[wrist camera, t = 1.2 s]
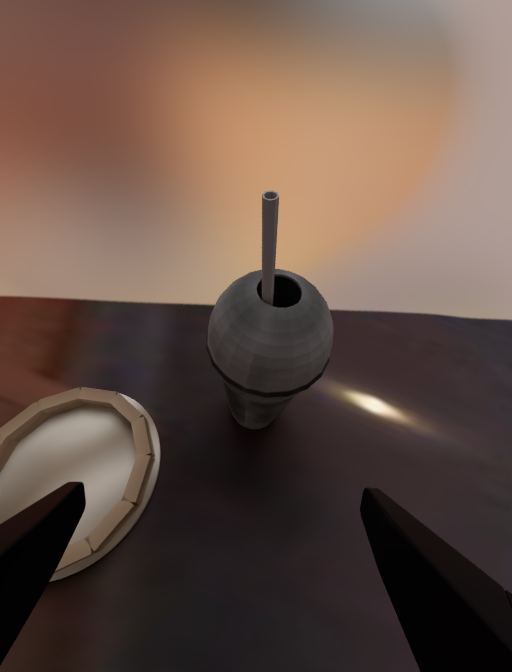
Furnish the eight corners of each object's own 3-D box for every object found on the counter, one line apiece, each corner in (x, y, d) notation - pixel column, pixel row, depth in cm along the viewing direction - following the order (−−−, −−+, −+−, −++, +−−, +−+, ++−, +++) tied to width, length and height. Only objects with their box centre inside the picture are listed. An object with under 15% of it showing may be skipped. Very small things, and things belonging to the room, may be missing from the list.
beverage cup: (307, 418, 24) (470, 219, 8) (240, 463, 22) (270, 307, 5) (265, 359, 27) (317, 129, 11) (202, 391, 25) (146, 156, 8)
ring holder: (194, 453, 22) (191, 448, 20) (38, 641, 15) (15, 657, 14) (97, 366, 25) (88, 356, 24) (-61, 489, 19) (-89, 487, 17)
